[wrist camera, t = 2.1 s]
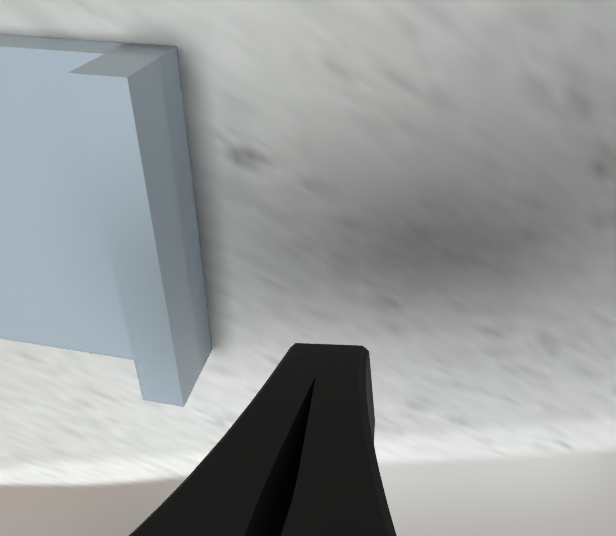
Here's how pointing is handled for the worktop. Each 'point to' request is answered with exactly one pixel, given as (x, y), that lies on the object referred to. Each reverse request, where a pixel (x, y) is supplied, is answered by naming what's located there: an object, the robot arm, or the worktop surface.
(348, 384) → the robot arm
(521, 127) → the worktop surface
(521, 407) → the worktop surface
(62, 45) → the light blue lipped plate
